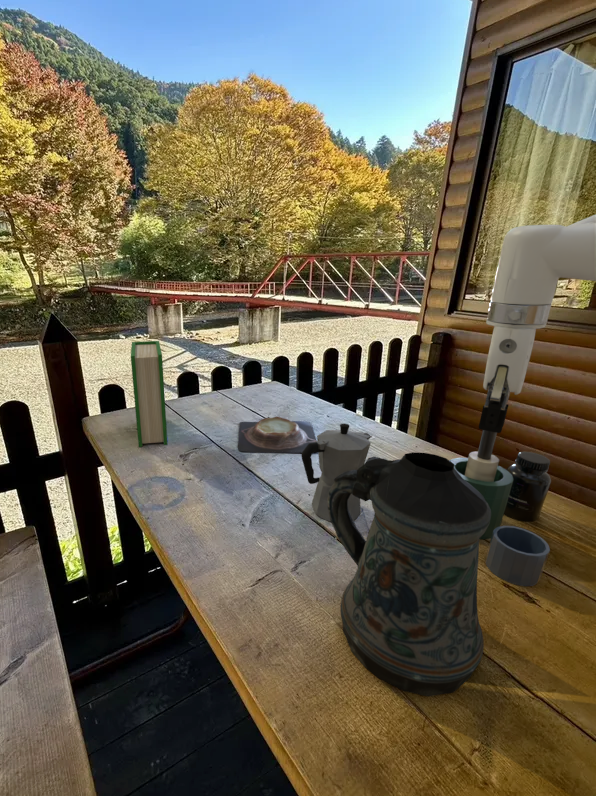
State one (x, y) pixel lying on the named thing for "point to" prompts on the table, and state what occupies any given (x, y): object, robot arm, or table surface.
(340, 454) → the coffeepot
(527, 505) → the supplement bottle
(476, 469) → the brush
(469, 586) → the beer stein
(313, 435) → the quiche
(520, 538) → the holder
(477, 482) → the jar
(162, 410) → the hardback book
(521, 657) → the table surface
